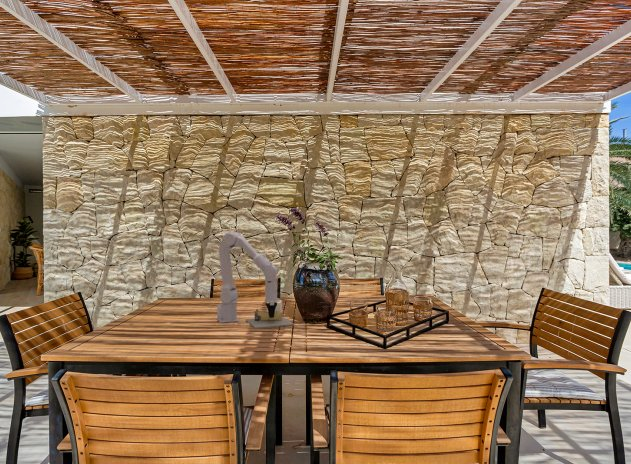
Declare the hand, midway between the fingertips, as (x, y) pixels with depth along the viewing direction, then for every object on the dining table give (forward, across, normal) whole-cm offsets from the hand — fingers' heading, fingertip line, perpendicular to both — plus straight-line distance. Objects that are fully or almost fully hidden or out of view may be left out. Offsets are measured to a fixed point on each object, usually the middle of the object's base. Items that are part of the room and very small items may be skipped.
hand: (271, 317), depth 227 cm
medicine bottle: (+3, +19, -2) cm, 19 cm away
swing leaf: (+1, +2, +1) cm, 3 cm away
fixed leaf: (+2, +3, +2) cm, 4 cm away
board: (+2, -1, +1) cm, 3 cm away
